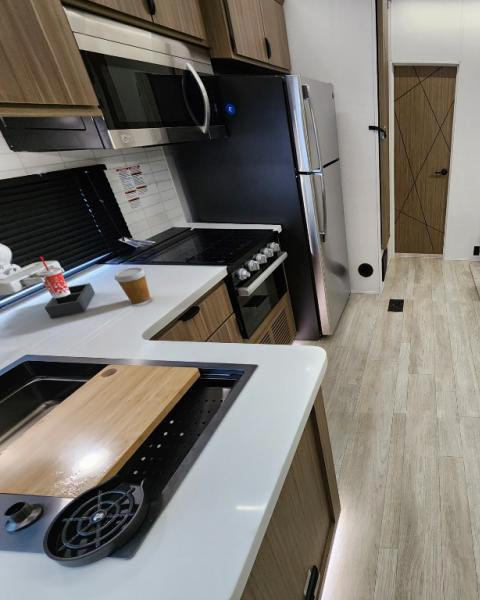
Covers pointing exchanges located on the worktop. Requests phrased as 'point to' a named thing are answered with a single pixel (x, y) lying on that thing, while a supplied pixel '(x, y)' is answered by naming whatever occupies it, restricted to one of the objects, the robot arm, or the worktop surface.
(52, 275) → the beverage cup
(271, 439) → the worktop surface
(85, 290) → the box
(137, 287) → the disposable coffee cup
